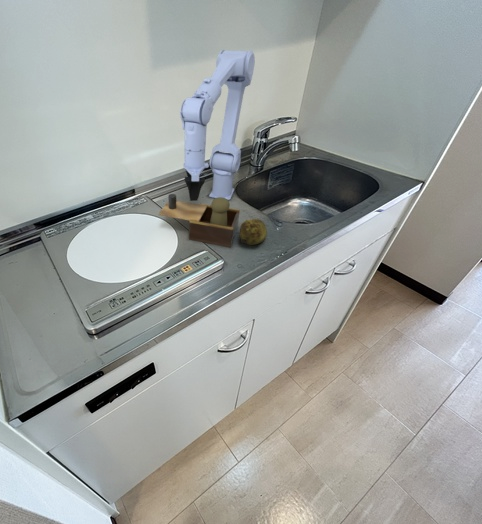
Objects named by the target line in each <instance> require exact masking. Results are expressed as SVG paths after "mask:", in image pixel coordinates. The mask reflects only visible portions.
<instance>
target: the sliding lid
mask: <svg viewBox="0 0 482 524" xmlns="http://www.w3.org/2000/svg"><path fill="white" fill-rule="evenodd" d="M167 197H168V201H167V202H166V204H165V205H164V206H163V207H162V208H161V210H159V212H158V216H161V217H166V218H172V219H178V220H185V221H189V222H190V220H192V221H198V222H199V221H200V219H201V217H202V216H203V214H204V212H205V210H206V208H207V205H208V204H207V205H200V204H201V203H193V202H186V201H181V200H180V201H179V200H177V194H175V193H170V194H168V196H167Z"/></svg>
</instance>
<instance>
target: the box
mask: <svg viewBox="0 0 482 524" xmlns="http://www.w3.org/2000/svg"><path fill="white" fill-rule="evenodd" d="M199 204H200V205H207V208H206V210H205V212H204V214H203V216H202V217H201V219H200V221H199V222H198V221H192V220H190V221H189V227H188V229H189V230H188V231H189V232H188V236H189V237H188V240H190V241H195V242H200V243H205V244H210V245H214V246H215V245H216V246H220V247H225V248H231V247H232V244H233V241H234V239H235V235H236V233H237V230H238V227H239V226H238V224H239V218H240V213H241V211H240V210H241V209H238V208H231V207H229V209H228V211H227V227H226V226H221V225H215V224H210V220H211V215H212V211H213V210H212V207H211V204H205V203H199Z"/></svg>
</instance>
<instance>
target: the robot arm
mask: <svg viewBox="0 0 482 524" xmlns="http://www.w3.org/2000/svg"><path fill="white" fill-rule="evenodd" d="M255 58H256V57H255V53H254V51H253V50H225V49H221V50H220V51H219V53H218V55H217V56H216V62H215V69H214V71H213V73H212V75H211V76H210V77H206V78H204V79H203V80H202V82H201V83H200V85H199V87H198V88H197V89H196V91H195V92H194V93H193V95H192V96H191V97H187V98H186V99H184V100H183V101H182V103H181V107H180V111H179V116H180V120H181V123H182V130H183V131H184V150H183V151H184V153H183V154H184V156H183V157H184V158H183V159H184V161H183V168H184V171H185V173H186V176H184V183H185V184H186V186H187V190H188V195H189V200H190V201H191V202H194V201H195V202H197V201H198V200H199V197H200V193H201V190H202V188H203V185H204V184H205V183H206V178H205V177H200V175H201V174H202V172H203V171H204V170H205V169H208V168H209V167H210V169H211V172H212V173H213V180H212V189H211V191H210V193H209V195H208V197H209V198H212V199H215V198H218V197H223V198H226V199H227V200H228V201H230V200H231V199H232V196H233V194H234V192H235V188H234V187H233V184H234V178H235V177H234V175H235V174H236V173H238V171H239V169H240V167H241V160H242V158H241V157H242V150H241V149H240V148H239V146H238V145H237V144H236V138H237V131H238V126H239V121H240V117H241V112H242V111H241V109H242V106H243V105H242V104H243V100H244V94H245V90H246V87H249V86H251V83H252V79H253V75H254V69H255V63H256V61H255ZM224 85H225V86H226V87H227V89H228V91H227V98H226V104H225V108H224V109H225V110H224V117H223V123H222V129H221V136H220V142H219V143H218V144H215V146H213V147H212V150H211V155H210V157H209V161H208V162H206V145H207V144H206V142H207V126H208V123H210V120H211V119H212V114H213V111H214V106H215V105H216V103H217V101H218V100H219V98H220V97H221V95H222V87H223V86H224Z"/></svg>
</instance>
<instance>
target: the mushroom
mask: <svg viewBox="0 0 482 524" xmlns="http://www.w3.org/2000/svg"><path fill="white" fill-rule="evenodd" d="M210 205H211V207H212V210H213V211H212V215H211V220H210V224H215V225H221V226H226V227H227V211H228V209H229V208H230V200H227V199H226V198H223V197H218V198H213V199H212V201H211V203H210Z"/></svg>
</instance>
